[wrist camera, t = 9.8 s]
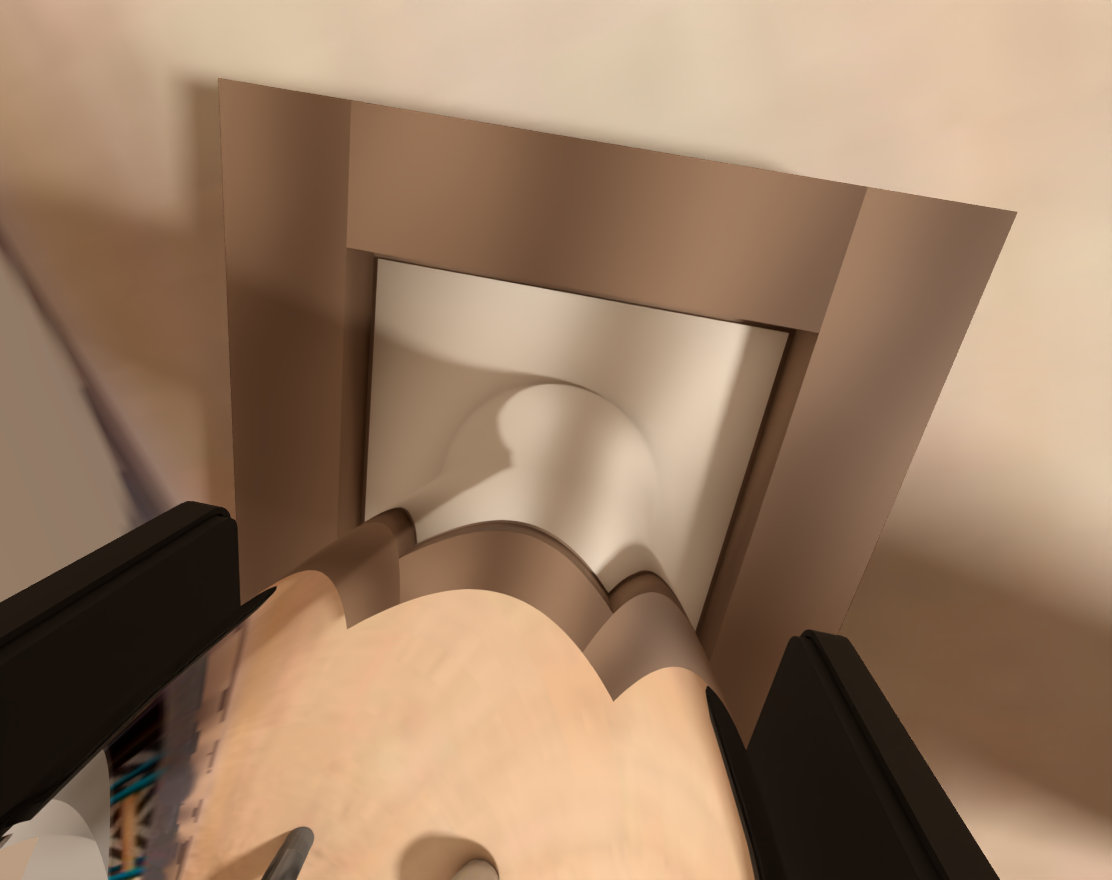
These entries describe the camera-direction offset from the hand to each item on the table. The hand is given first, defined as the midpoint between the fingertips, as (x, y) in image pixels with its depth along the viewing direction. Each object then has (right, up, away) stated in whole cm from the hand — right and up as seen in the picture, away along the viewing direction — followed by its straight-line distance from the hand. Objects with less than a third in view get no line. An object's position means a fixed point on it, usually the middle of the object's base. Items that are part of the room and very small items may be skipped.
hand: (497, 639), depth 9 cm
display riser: (+1, +3, +9) cm, 10 cm away
